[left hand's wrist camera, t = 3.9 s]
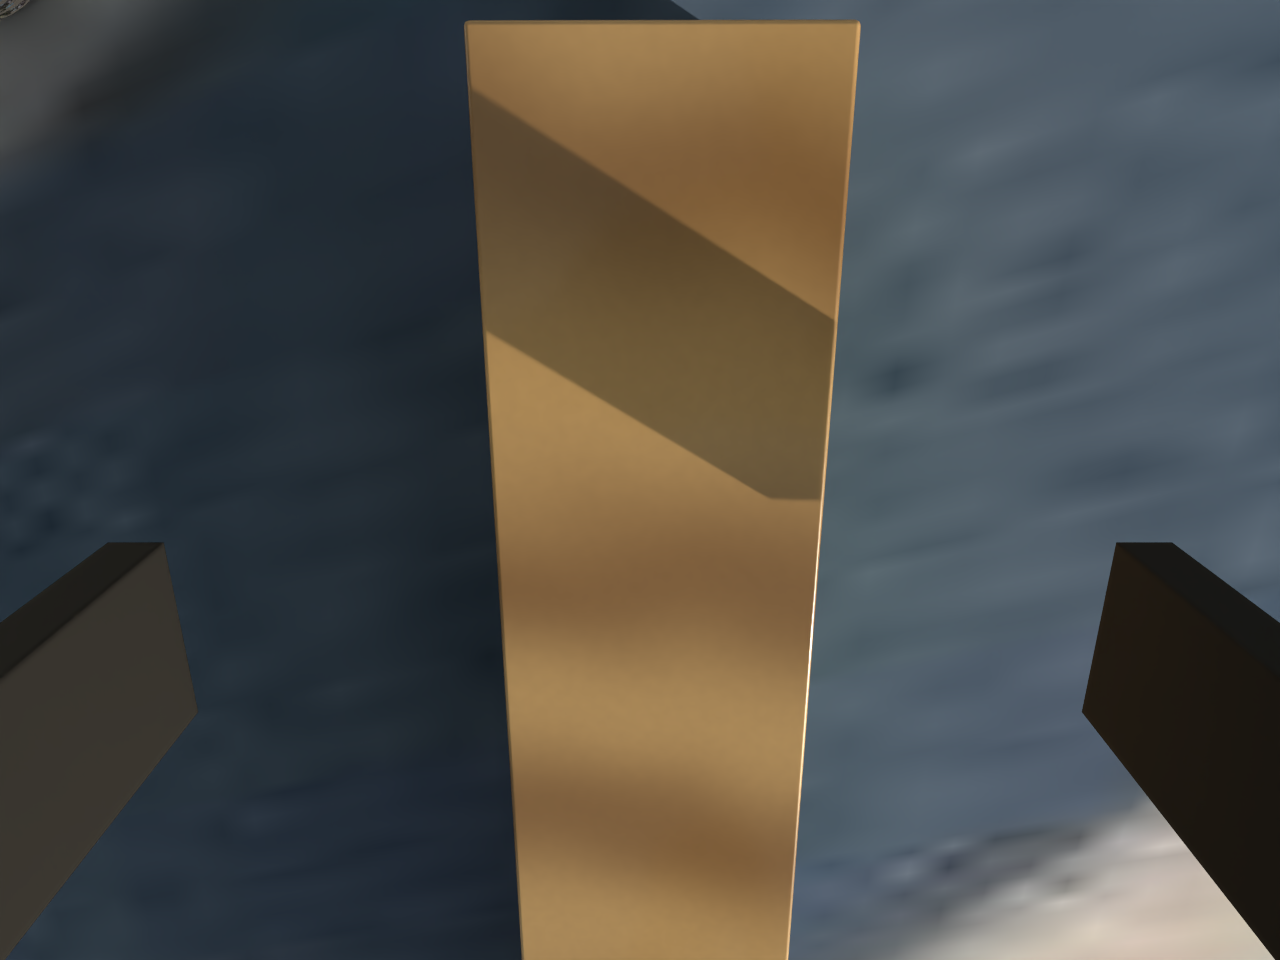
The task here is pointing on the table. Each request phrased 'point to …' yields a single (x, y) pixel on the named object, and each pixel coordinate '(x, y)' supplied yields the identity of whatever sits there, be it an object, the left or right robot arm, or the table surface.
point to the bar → (658, 459)
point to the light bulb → (11, 7)
